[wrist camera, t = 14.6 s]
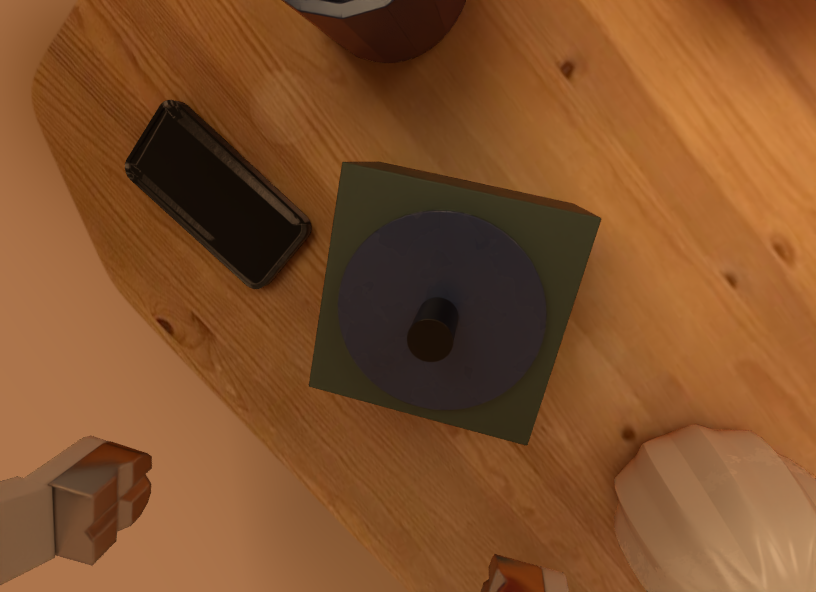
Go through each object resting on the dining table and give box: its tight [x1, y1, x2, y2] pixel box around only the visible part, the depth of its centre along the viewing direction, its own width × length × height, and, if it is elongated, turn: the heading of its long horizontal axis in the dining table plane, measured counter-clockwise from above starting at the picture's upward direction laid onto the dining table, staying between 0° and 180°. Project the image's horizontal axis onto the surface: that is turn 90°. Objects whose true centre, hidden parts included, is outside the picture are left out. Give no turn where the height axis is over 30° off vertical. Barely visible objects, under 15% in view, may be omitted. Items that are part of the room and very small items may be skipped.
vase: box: [614, 424, 816, 592], centre depth 32 cm, size 14×14×13 cm
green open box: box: [309, 162, 601, 445], centre depth 33 cm, size 15×15×9 cm
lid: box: [338, 210, 547, 410], centre depth 26 cm, size 12×12×5 cm
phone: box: [125, 100, 311, 289], centre depth 38 cm, size 8×1×15 cm
